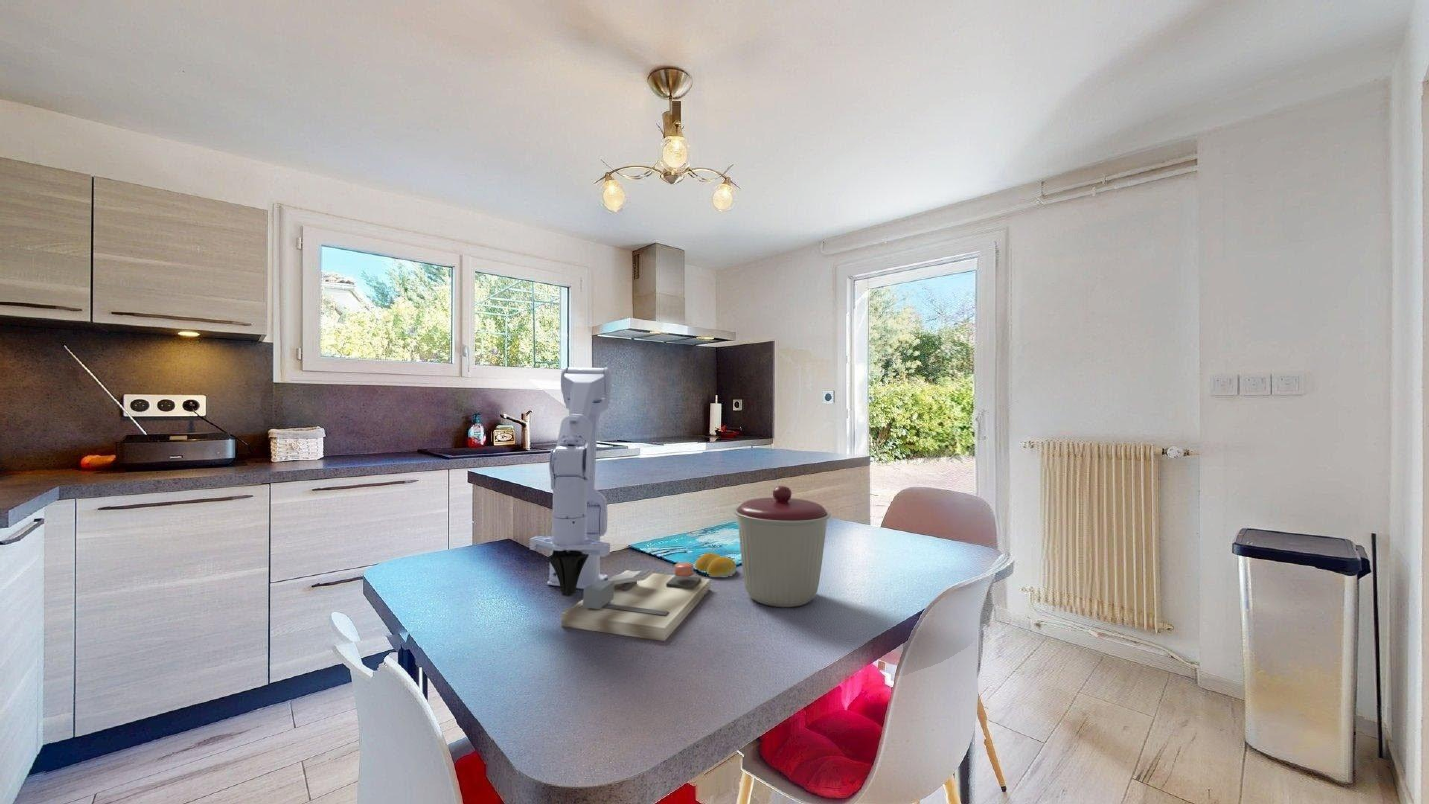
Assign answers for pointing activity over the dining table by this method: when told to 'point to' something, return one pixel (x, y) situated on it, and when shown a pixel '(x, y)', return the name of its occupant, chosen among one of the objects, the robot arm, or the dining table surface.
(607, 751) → the dining table surface
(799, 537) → the canister
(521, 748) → the dining table surface
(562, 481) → the robot arm
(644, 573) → the grey rocker
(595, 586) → the grey rectangular block
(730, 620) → the dining table surface
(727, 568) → the double yolk fried egg
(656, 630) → the switch panel
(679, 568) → the red push button
